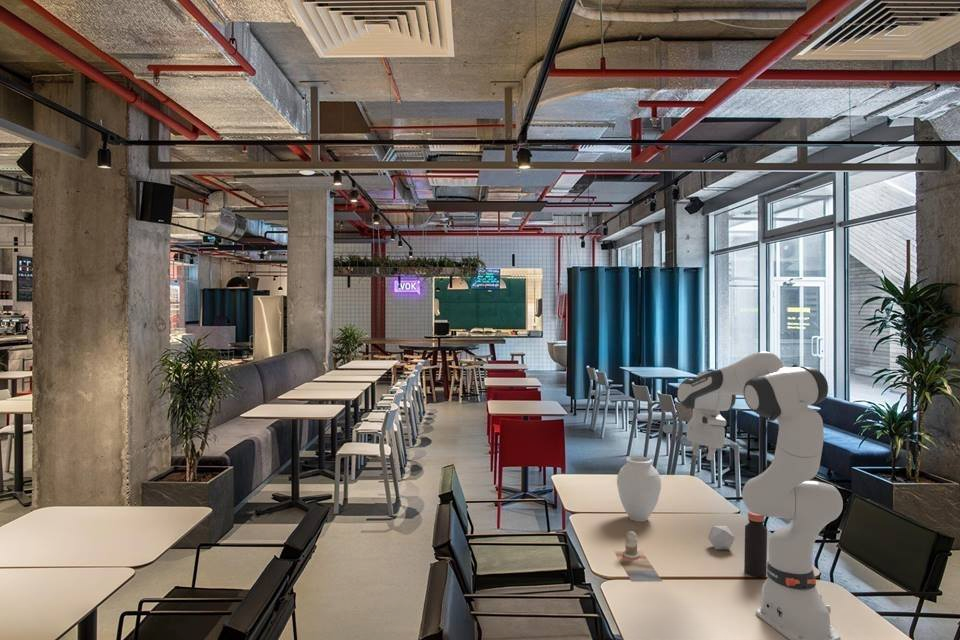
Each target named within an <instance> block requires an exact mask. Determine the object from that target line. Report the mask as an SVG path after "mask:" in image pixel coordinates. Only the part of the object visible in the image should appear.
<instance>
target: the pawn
mask: <svg viewBox="0 0 960 640" xmlns="http://www.w3.org/2000/svg"><path fill="white" fill-rule="evenodd" d="M624 544H625V550H623V556H624V557H625V558H628V559H638V558H639V552H637V551H638V535H637V533H636V532H635V531H632V530H630V531H627V533H626V534H625V543H624Z"/></svg>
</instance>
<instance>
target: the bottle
mask: <svg viewBox="0 0 960 640" xmlns="http://www.w3.org/2000/svg"><path fill="white" fill-rule="evenodd" d="M747 520H748V523H746V525H744V559H743V561H744V565H743V567H744V569H743V570H744V573H746V574H747V575H750V576H752V577H755V578H756V577H757V578H758V577H759V578H761V577H765V576H767V562H768V561H767V560H768V557H767V556H768V555H767V554H768V552H767V551H768V528H767V527H766V526H765V525H764V523H765V516H763V515H759V514H755V513H752V512H750V511H749V510H748V512H747Z"/></svg>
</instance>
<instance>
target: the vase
mask: <svg viewBox="0 0 960 640" xmlns="http://www.w3.org/2000/svg"><path fill="white" fill-rule="evenodd" d="M652 462H653V459H651V458H649V457H646V456H639V455H633V456H629V457H626V463H625V464H624V465H623V466H622V467H621V468H620V470H619V472H618V473H617V478H616V486H617V490H618V495H619V498H620V502H621V504H622V507H623V509H624V511H625V513H626V514H627V516H628V517H629V519H630V520H631V521H634V522H646V521H648V519H649V518H650V517H651V516H652V514H653V512H654V510H655V508H656V506H657V504H658V501H659V498H660V494H661V489H662V478H661V475H660V474H659V471H658V470H657V469H656V467H654V465H653V464H652Z"/></svg>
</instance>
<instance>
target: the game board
mask: <svg viewBox="0 0 960 640" xmlns="http://www.w3.org/2000/svg"><path fill="white" fill-rule="evenodd" d="M623 551H624V550H623ZM623 551H622V550H621V551H618V550H617V551H615V550H614V553H615V555H616V557H617V559H618V560H619V562H620V565H621V566H622V567H623V569H624V571H625V572H626V575H627V576H628V578H629V580H630V582H663V580H662V578H661V577H660V576H659V574H658V572H657V571H656V570H655V568H654V567H653V565H652V563H651V562H650V561H649V559H648V558H647V556H646V555H645V553H644V551H642V550H641V551H638V550H637V552H639V558H638V559H628V558H625V557H624V556H623Z"/></svg>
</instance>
